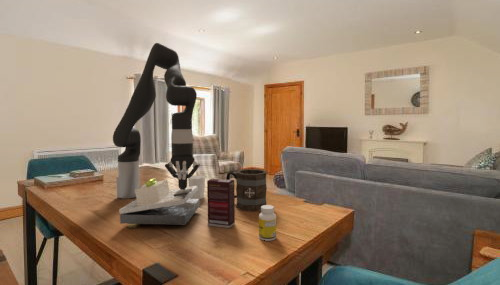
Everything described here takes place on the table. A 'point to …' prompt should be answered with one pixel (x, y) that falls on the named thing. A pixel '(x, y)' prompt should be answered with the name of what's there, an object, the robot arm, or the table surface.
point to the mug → (250, 189)
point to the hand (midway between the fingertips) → (183, 189)
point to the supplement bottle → (267, 223)
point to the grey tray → (162, 215)
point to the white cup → (199, 182)
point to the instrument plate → (157, 196)
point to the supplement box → (221, 202)
